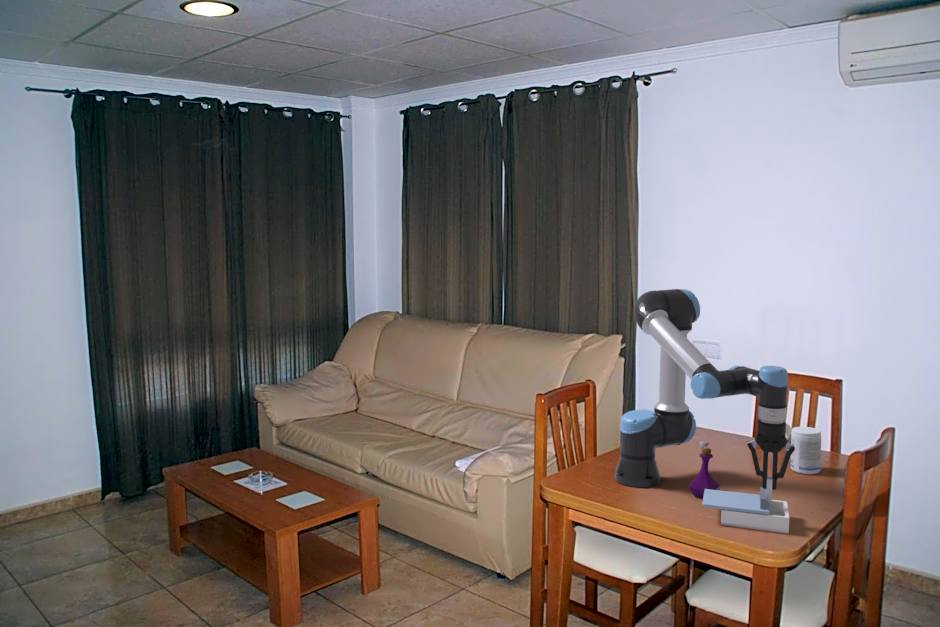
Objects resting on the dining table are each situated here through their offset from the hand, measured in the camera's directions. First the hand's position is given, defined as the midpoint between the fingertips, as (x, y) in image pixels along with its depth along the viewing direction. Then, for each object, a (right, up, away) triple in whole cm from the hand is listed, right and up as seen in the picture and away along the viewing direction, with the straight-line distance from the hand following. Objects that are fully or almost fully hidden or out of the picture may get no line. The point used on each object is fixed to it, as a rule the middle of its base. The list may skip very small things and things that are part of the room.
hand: (768, 499), depth 209 cm
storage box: (-3, -7, +2) cm, 8 cm away
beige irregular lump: (+35, +2, +74) cm, 82 cm away
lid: (-8, -2, +3) cm, 9 cm away
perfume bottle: (-12, -5, +22) cm, 25 cm away
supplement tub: (+31, -1, +44) cm, 53 cm away
